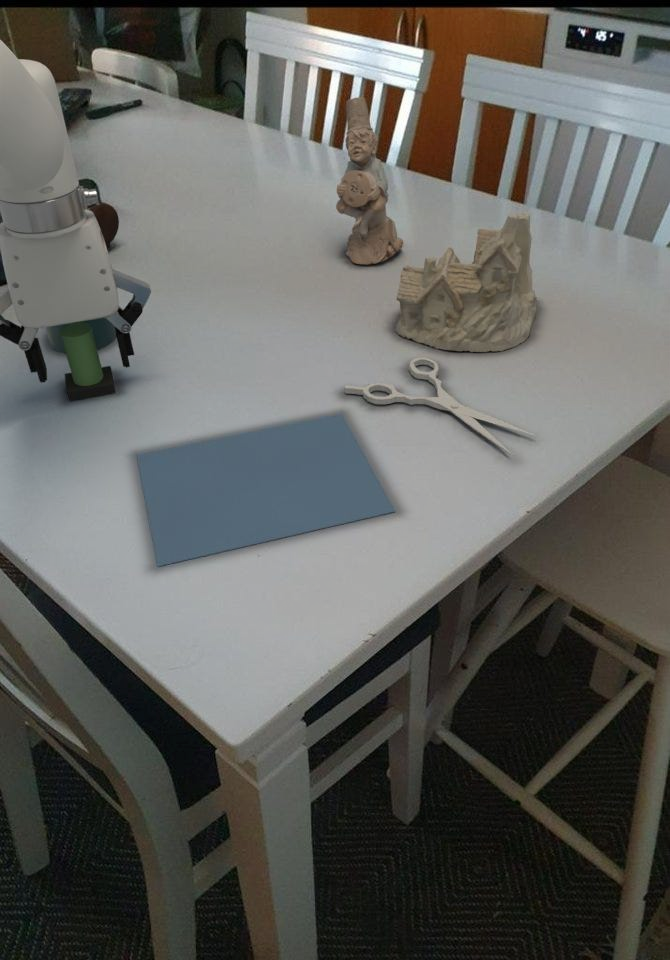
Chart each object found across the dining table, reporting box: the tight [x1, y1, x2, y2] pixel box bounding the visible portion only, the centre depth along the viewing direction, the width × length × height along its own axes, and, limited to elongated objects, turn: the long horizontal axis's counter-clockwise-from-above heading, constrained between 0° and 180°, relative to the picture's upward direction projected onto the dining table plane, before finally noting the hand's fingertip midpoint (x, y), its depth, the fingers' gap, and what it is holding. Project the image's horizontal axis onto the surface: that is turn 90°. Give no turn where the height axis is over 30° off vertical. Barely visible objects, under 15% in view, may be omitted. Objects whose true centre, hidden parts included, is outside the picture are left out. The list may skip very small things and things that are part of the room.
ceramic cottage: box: [395, 211, 538, 353], centre depth 94 cm, size 16×16×15 cm
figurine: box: [335, 96, 404, 265], centre depth 107 cm, size 9×8×20 cm
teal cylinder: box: [44, 317, 117, 354], centre depth 95 cm, size 8×8×10 cm
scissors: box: [343, 357, 537, 457], centre depth 83 cm, size 11×1×20 cm
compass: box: [88, 202, 120, 248], centre depth 115 cm, size 8×8×7 cm
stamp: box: [60, 322, 116, 402], centre depth 87 cm, size 5×4×7 cm
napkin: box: [136, 413, 396, 568], centre depth 75 cm, size 21×16×1 cm
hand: (85, 367), depth 87 cm, fingers open, 8 cm apart
